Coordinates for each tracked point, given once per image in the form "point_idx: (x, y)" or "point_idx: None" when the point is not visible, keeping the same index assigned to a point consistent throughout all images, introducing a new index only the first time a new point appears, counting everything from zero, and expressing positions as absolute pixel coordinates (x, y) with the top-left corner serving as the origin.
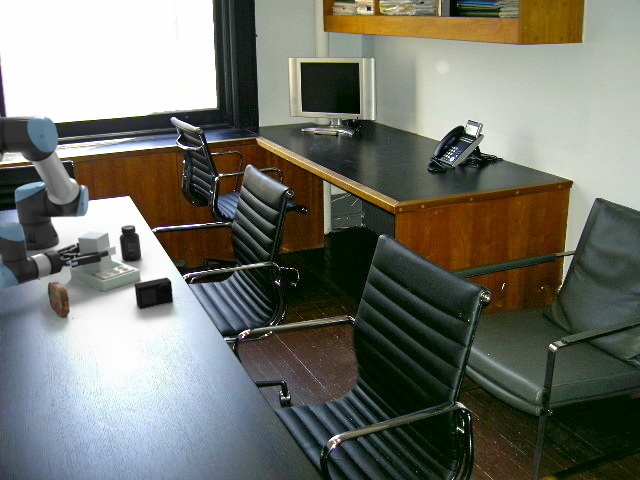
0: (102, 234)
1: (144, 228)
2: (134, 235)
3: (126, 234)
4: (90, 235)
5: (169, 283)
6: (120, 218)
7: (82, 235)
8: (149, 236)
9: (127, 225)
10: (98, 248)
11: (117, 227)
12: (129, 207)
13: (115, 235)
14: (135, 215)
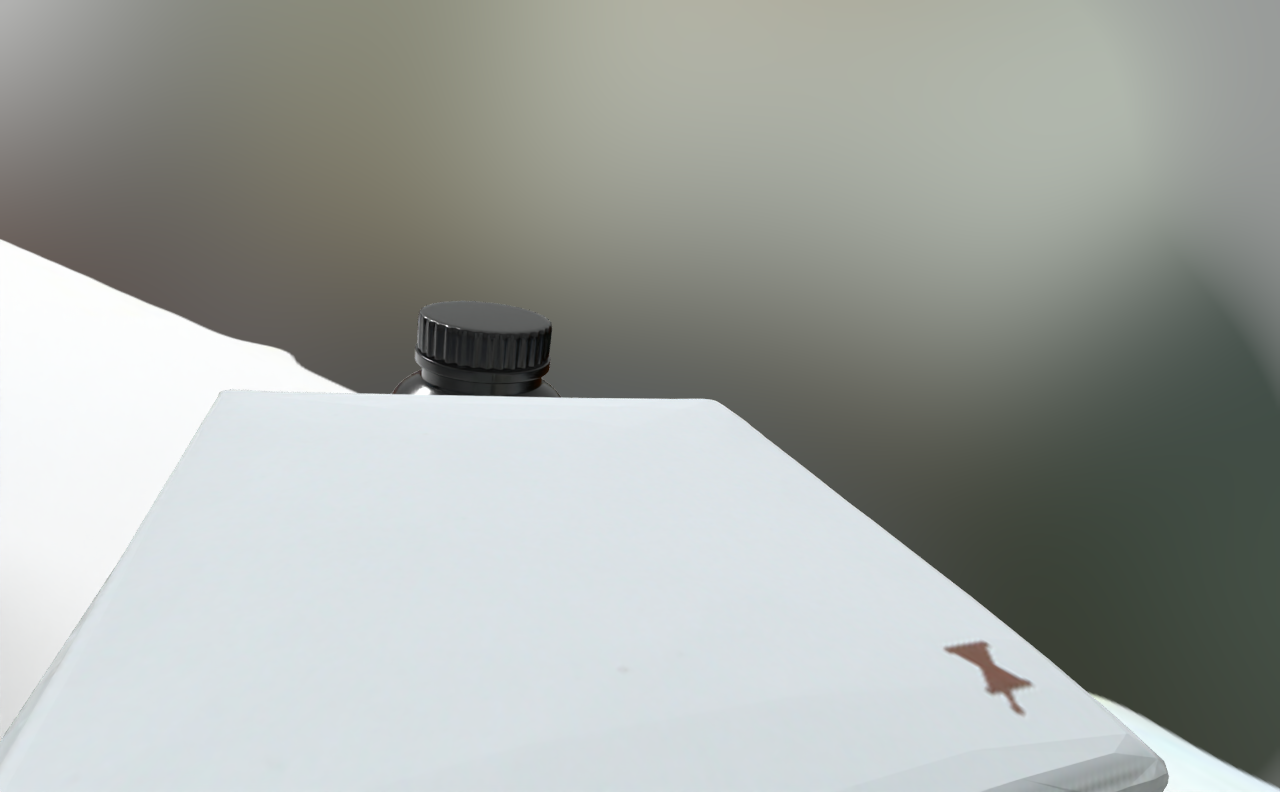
0: (751, 457)
1: (226, 338)
2: (553, 393)
3: (504, 389)
4: (537, 569)
5: None
6: (4, 289)
7: (71, 655)
8: (321, 380)
9: (446, 302)
10: None
11: (29, 333)
12: (14, 249)
13: (63, 383)
14: (90, 280)
